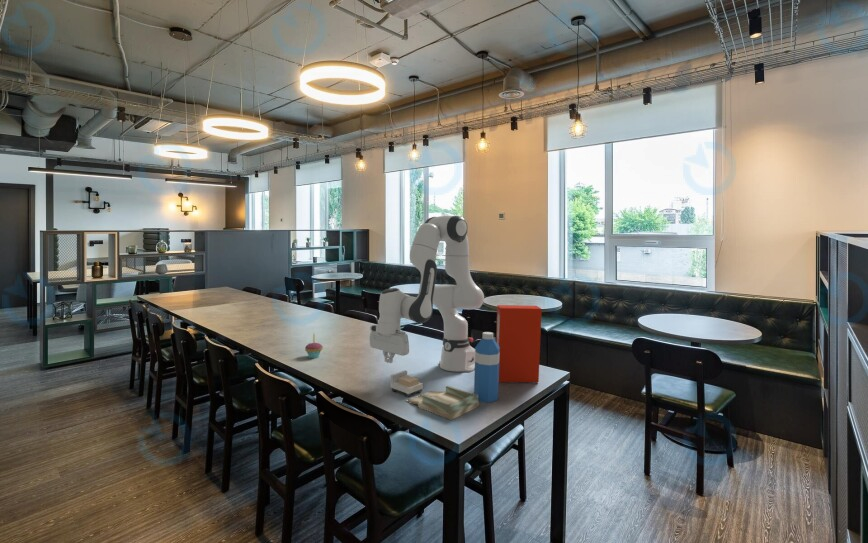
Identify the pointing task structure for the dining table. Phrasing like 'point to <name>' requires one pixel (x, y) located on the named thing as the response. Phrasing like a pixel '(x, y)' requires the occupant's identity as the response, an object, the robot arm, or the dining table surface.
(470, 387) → the dining table surface
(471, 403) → the dock
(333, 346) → the dining table surface
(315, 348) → the cupcake
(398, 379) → the cart
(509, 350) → the red box
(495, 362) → the water bottle
